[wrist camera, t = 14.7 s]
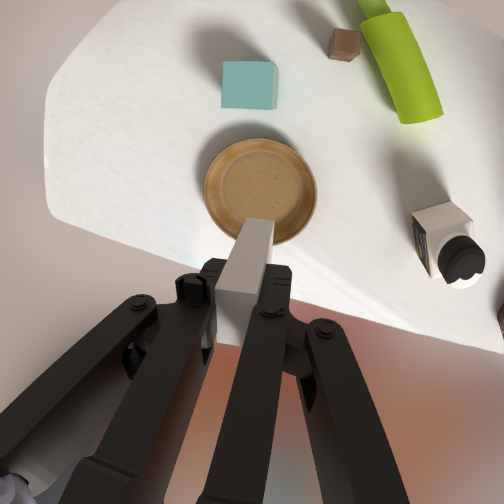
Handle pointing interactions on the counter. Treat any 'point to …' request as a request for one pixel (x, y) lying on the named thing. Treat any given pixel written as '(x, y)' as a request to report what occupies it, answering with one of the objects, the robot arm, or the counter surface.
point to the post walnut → (344, 45)
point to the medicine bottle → (448, 245)
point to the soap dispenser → (400, 62)
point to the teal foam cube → (249, 85)
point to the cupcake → (501, 320)
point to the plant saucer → (260, 188)
